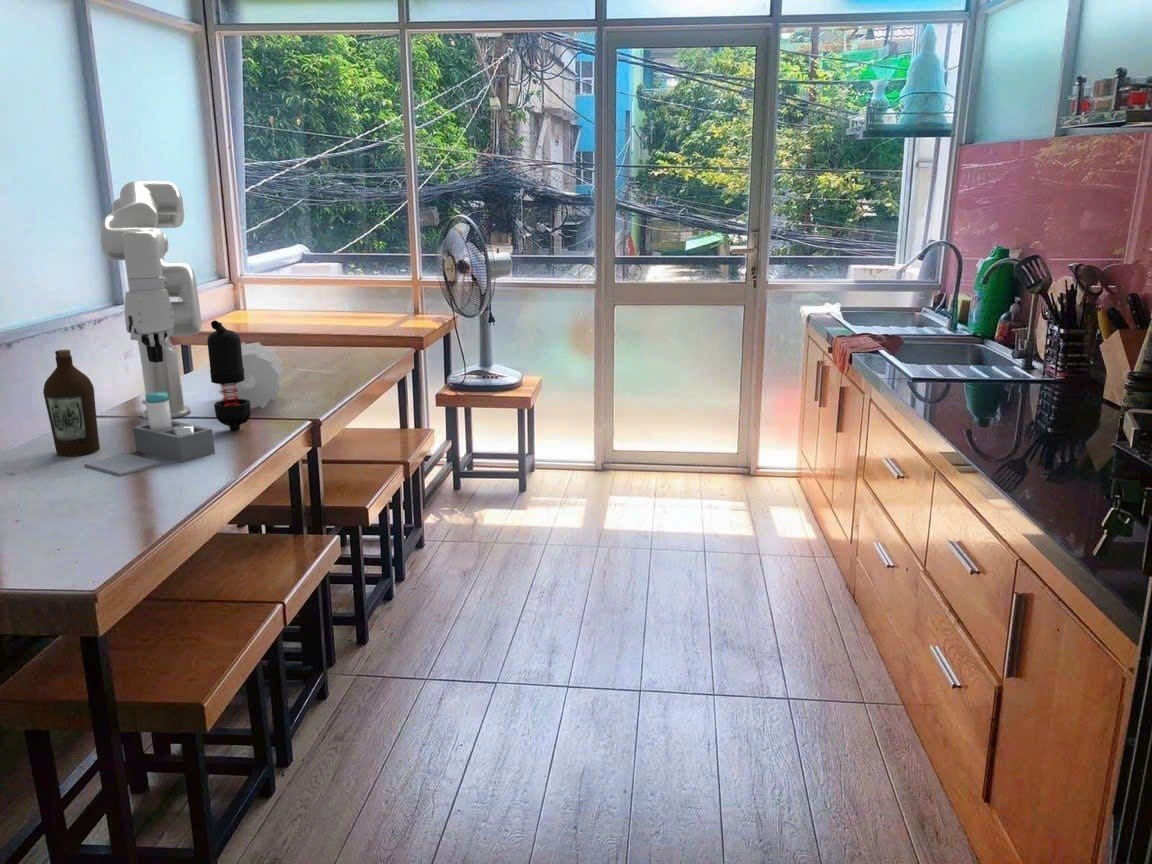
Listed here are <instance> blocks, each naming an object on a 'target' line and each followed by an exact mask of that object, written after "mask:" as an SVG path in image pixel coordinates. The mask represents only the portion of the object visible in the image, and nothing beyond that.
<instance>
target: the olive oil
mask: <svg viewBox="0 0 1152 864" xmlns="http://www.w3.org/2000/svg"><path fill="white" fill-rule="evenodd" d="M54 354H55V363H56V368H55V369H54V370H53V372H51V374H50V375H49V376H48V378H47V379H46V380H45V382H44V385H43V390H42V391H43V396H44V397H43V398H44V401H45V405H46V410H47V415H48V420H49V424H50V429H51V433H52V438H53V444H54V447H55V453H56V455H57V456H58V457H69V458H70V457H79V456H86V455H89V454H94V453H95V452H96V453H97V452H98V451H99V450H100V447H101V446H100V439H99V438H100V437H99V429H98V421H97V419H98V418H97V410H96V399H95V397H96V396H95V390H94V389H95V388H94V384H93V383H92V381H91V379H90V378H89V377H88V376H87V375H86V374H85V373H83V372H82V371H81V370H79V369H78V368H77V367H76V366H74V364H73V357H72V355H71V350H70V349H59V350H55V351H54Z"/></svg>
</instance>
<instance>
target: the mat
mask: <svg viewBox="0 0 1152 864" xmlns="http://www.w3.org/2000/svg"><path fill="white" fill-rule="evenodd" d="M161 464H162V462H161V461H160V460H159V461H158V460H155V459H150V458H147V457H143V456H139V455H134V454H129V453H127V452H124V453H120V454H115V455H113V456H109V457H105V458H101V459H97V460H94V461H89V462H87V463H86V462H85V463H84V467H87V468H91V469H93V468H94V470H98V471H101V472H106V473H109V474H112V473H113V475H116V476H119V475H120V477H122V475H123V476H126V475H130V474H133V473H136V471H137V472H139V471H142V470H143V469H144V470H146V468H147V469H150V468H153V467H157V466H161ZM149 467H150V468H149ZM129 473H130V474H129Z"/></svg>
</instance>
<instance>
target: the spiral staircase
mask: <svg viewBox="0 0 1152 864" xmlns="http://www.w3.org/2000/svg"><path fill="white" fill-rule="evenodd" d="M241 350H242V361H243V368H244V376H245V377H244V378H245V379H244V381H242V382H238V383H237V384H235V385H236V389H237V390H238V391H237V392H233V393H227V397H230V396H234V393H235V396H236V393H237V397H238V399H247V400H250V407H251V410H252V409H255V408H258V407H260V408H262V409H264V408H265V407H266V406H267V405H268V404H269V403H270V401H272V399H273V400H277V396H278V392H280V391H281V385H280V383H281V382H280V381H281V380H282V379H283V375H282V369H281V365H283V361H281V360H280V359H279V357H278V356H277V355H276V354H275V349H273V348H270V347H267V346H264V345H262V344H261V342H253V343H245V342H244V341H242V342H241ZM232 384H234V383H232ZM226 385H228V384H226ZM235 385H234V389H235ZM219 387H220V390H219V391H218V393H219V394H221V395H222V396H223V397H224V393H223V392H222V391H223V390H227V389H233V385H230V386H223V385H222V384H219ZM232 391H235V390H228V391H227V392H232ZM225 392H226V391H225ZM225 397H226V393H225ZM225 397H224V398H225ZM226 399H234V397H231V398H226Z"/></svg>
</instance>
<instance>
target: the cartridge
mask: <svg viewBox="0 0 1152 864" xmlns="http://www.w3.org/2000/svg"><path fill="white" fill-rule="evenodd" d="M145 398H146V403H147V409H146V410H147V411H148V418H149V419H148V424H149V426H150V429H151V430H155V431H158V430H162V429H166V428H170V427H172V421H173V420H172V418H171V413H170V405H169V397H168V393H167V392H153V393H148V394H145Z"/></svg>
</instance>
